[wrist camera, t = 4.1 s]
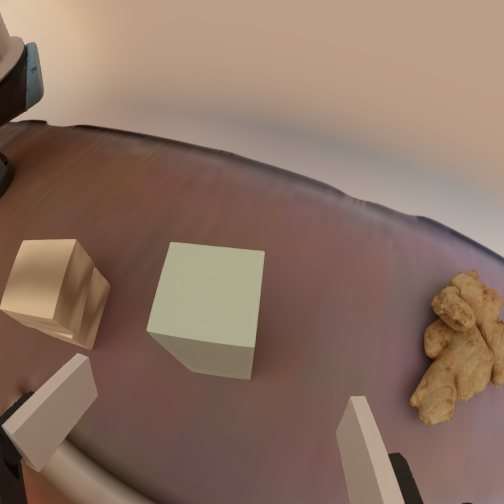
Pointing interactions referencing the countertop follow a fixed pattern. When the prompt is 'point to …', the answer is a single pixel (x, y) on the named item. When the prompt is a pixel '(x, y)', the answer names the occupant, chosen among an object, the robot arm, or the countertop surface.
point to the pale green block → (209, 308)
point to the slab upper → (49, 285)
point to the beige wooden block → (89, 313)
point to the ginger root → (460, 348)
